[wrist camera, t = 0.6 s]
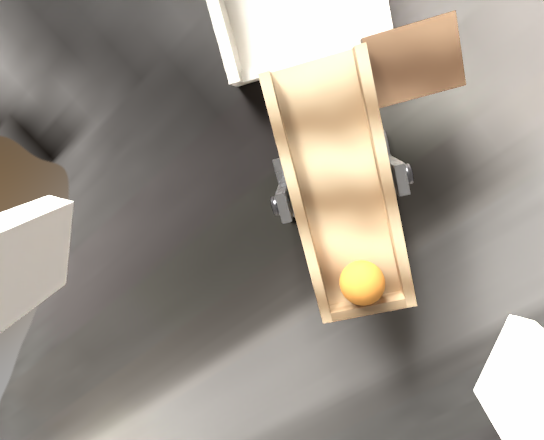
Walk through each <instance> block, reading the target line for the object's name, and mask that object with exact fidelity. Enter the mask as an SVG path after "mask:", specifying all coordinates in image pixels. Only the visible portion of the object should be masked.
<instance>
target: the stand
mask: <svg viewBox="0 0 544 440" xmlns="http://www.w3.org/2000/svg"><path fill="white" fill-rule="evenodd" d="M384 137H385V142H386V147H387V152H388V157H389V162H390V167H391V173H392V178H393V183H394V188H395V193H397V194H398V195H399V196H400V197H401V196H405V195H409V194H411V193H410V187H409V184H412V183H413V182H414V178H413V172H412V169H411V166H410V164H409V163H408V164H405V163H404V162H402V161H400V160H398V159H397V158H395V157H393V156H391V155H390V150H389V145H388V140H387V134H386V131H384ZM272 161H273V165H274V169H275V173H276V176H277V180H278V184H279V185H278V188H277V190H276V193H275V196H273V197H270V200H271V206H272V210H273V213H274V215H275V216H277V215H280V217H281V221H282V224H285V223H289V222H292V220H293V217H295V215H294V211H293V207H292V203H291V199H290V195H289V192H288V188H287V184H286V180H285V176H284V172H283V168H282V165H281V161H280V158H278V159H274V160H272Z"/></svg>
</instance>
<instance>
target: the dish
mask: <svg viewBox="0 0 544 440" xmlns="http://www.w3.org/2000/svg"><path fill="white" fill-rule="evenodd" d="M206 3H207V6H208V10H209V14H210V17H211V21H212V24H213V28H214V32H215V35H216V39H217V42H218V46H219V50H220V53H221V57H222V60H223V64H224V68H225V71H226V75H227V78H228V82H229V85H233V86H236V87H239V86H242V85H245V84H249V83H252V82H256V81H259V76H258V74H260V73H263V72H266V71H270V72H275V71H278V70H282V69H285V68H288V67H292V66H295V65H299V64H302V63H305V62H309V61H312V60H316V59H319V58H322V57H326V56H329V55H333V54H336V53H339V52H343V51H346V50H350V49H352V48H353V47H354V46H355V45H358V44H361V42H360V40H361V39H362V38H364V37H367V36H371V35H374V34H377V33H381V32H384V31H387V30H391V29H393V24H392V18H391V13H390V7H389V1H388V0H206Z"/></svg>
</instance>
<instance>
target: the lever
mask: <svg viewBox="0 0 544 440" xmlns="http://www.w3.org/2000/svg"><path fill="white" fill-rule="evenodd" d="M360 42H361V44H358V45H355V46H354V47H353V48H352V49H350V50H346V51H343V52H339V53H336V54H333V55H329V56H326V57H322V58H319V59H316V60H312V61H309V62H305V63H302V64H299V65H295V66H292V67H288V68H285V69H282V70H278V71H275V72H270V71H266V72H263V73H260V74H258V76H259V80H260V84H261V88H262V92H263V95H264V99H265V103H266V107H267V111H268V115H269V118H270V122H271V126H272V130H273V134H274V138H275V142H276V145H277V149H278V153H279V157H280V161H281V165H282V168H283V172H284V176H285V180H286V184H287V188H288V192H289V195H290V199H291V203H292V207H293V211H294V215H295V218H296V222H297V226H298V230H299V234H300V238H301V241H302V245H303V249H304V253H305V257H306V261H307V265H308V268H309V272H310V276H311V280H312V284H313V288H314V291H315V295H316V299H317V303H318V307H319V311H320V315H321V318H322V322H323V324H325V323H330V322H336V321H341V320H346V319H351V318H357V317H362V316H367V315H372V314H378V313H383V312H388V311H393V310H399V309H404V308H409V307H414V306H417V301H416V296H415V291H414V286H413V281H412V276H411V270H410V265H409V260H408V255H407V250H406V245H405V240H404V234H403V229H402V224H401V219H400V214H399V209H398V203H397V198H396V193H395V188H394V183H393V178H392V173H391V167H390V162H389V157H388V152H387V147H386V142H385V137H384V131H383V126H382V121H381V116H380V111H379V108H382V107H386V106H390V105H393V104H397V103H401V102H405V101H408V100H412V99H416V98H419V97H423V96H427V95H431V94H434V93H438V92H442V91H446V90H449V89H453V88H457V87H460V86H464V85H466V81H465V74H464V67H463V59H462V52H461V45H460V38H459V31H458V24H457V17H456V10H455V11H451V12H448V13H445V14H441V15H438V16H435V17H431V18H428V19H424V20H421V21H418V22H414V23H411V24H408V25H404V26H401V27H398V28H394V29H391V30H387V31H384V32H381V33H377V34H374V35H371V36H367V37H364V38H362V39H361V40H360ZM359 260H364V261H369V262H372V263H373V264H375V265H376V266H378V267H379V268H380V270H381V271H382V273H383V275H384V278H385V290H384V293H383V295H382V296H381V298H380V299H379V300H378V301H376V302H375V303H373V304H370V305H366V306H360V305H356V304H353V303H351V302H350V301H348V300H347V299H346V298H345V297H344V295H343V294H342V292H341V289H340V285H339V280H340V275H341V273H342V271H343V269H344V268H345V267H346V266H347V265H348V264H350V263H352V262H354V261H359Z"/></svg>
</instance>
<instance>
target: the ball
mask: <svg viewBox="0 0 544 440" xmlns="http://www.w3.org/2000/svg"><path fill="white" fill-rule="evenodd" d="M339 285H340V289H341V292H342V294H343V295H344V297H345V298H346V299H347V300H348V301H350V302H351V303H353V304H356V305H360V306H366V305H370V304H373V303H375V302H376V301H378V300H379V299H380V298H381V296H382V295H383V293H384V290H385V278H384V275H383V273H382V271H381V270H380V268H379V267H378V266H376V265H375V264H373V263H372V262H369V261H364V260H359V261H354V262H352V263H350V264H348V265H347V266H346V267H345V268H344V269H343V271H342V273H341V275H340V280H339Z"/></svg>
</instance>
